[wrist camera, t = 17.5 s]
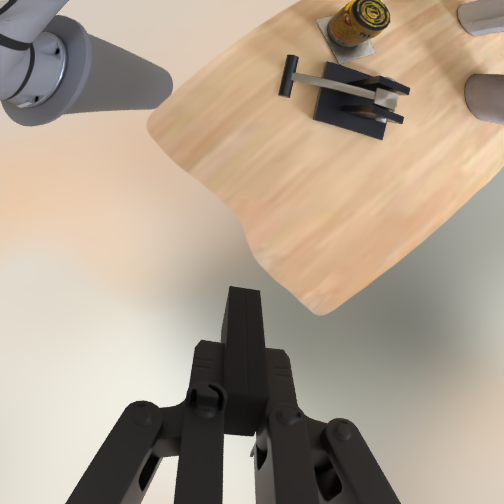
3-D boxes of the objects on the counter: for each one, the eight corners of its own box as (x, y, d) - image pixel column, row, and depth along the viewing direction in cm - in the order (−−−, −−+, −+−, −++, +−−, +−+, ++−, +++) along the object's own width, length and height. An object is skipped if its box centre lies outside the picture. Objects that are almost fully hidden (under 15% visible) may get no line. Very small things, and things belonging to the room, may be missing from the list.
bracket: (312, 119, 45) (338, 123, 32) (325, 62, 41) (355, 46, 28) (379, 139, 46) (421, 151, 34) (391, 85, 42) (436, 82, 30)
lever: (280, 96, 38) (275, 94, 36) (289, 57, 36) (285, 53, 34) (390, 125, 35) (391, 124, 33) (399, 84, 32) (401, 80, 30)
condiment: (353, 9, 36) (381, -13, 25) (375, 52, 40) (410, 41, 29) (315, 20, 38) (336, -3, 27) (338, 64, 41) (366, 53, 30)
